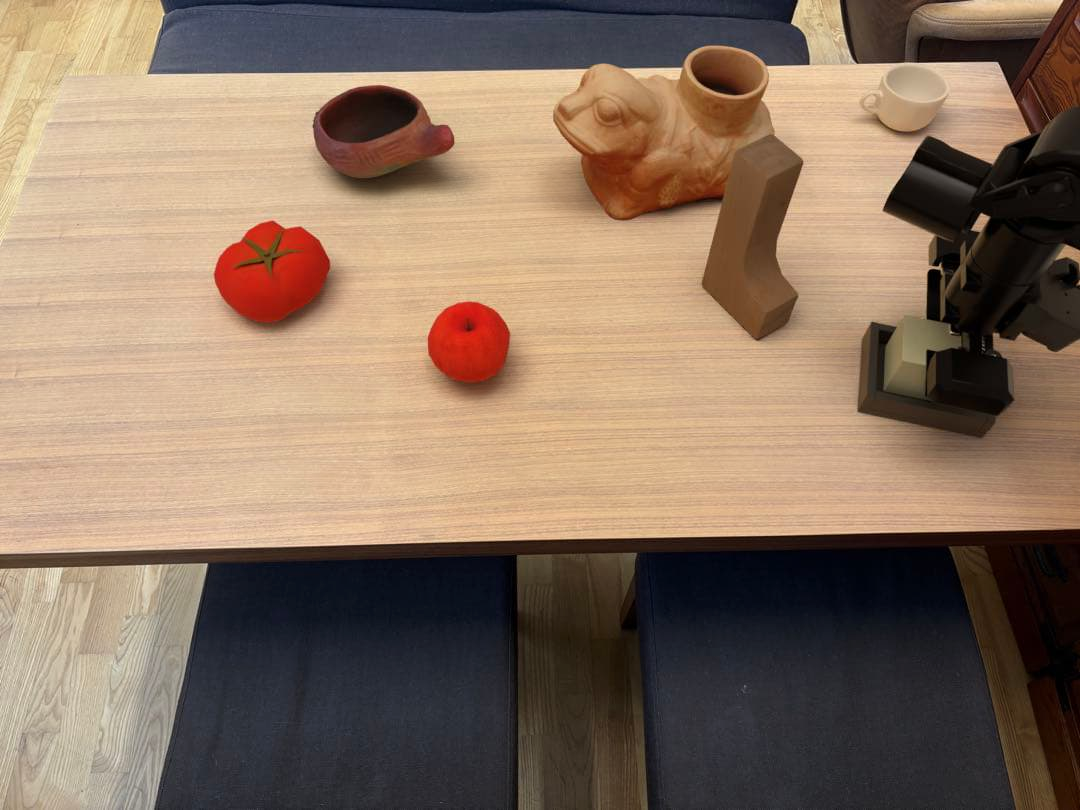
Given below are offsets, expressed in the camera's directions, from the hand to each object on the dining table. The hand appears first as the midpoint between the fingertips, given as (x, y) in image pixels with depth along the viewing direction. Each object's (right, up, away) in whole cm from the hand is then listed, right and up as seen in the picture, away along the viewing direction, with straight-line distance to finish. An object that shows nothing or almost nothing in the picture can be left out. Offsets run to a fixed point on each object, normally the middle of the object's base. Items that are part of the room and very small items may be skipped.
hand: (930, 371), depth 81 cm
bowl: (-55, +25, +19) cm, 63 cm away
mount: (0, -1, +2) cm, 3 cm away
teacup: (+6, +32, +24) cm, 40 cm away
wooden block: (-16, +7, +8) cm, 19 cm away
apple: (-44, 0, +3) cm, 44 cm away
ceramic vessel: (-23, +24, +18) cm, 38 cm away
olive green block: (0, -1, +1) cm, 1 cm away
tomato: (-64, +8, +8) cm, 65 cm away
